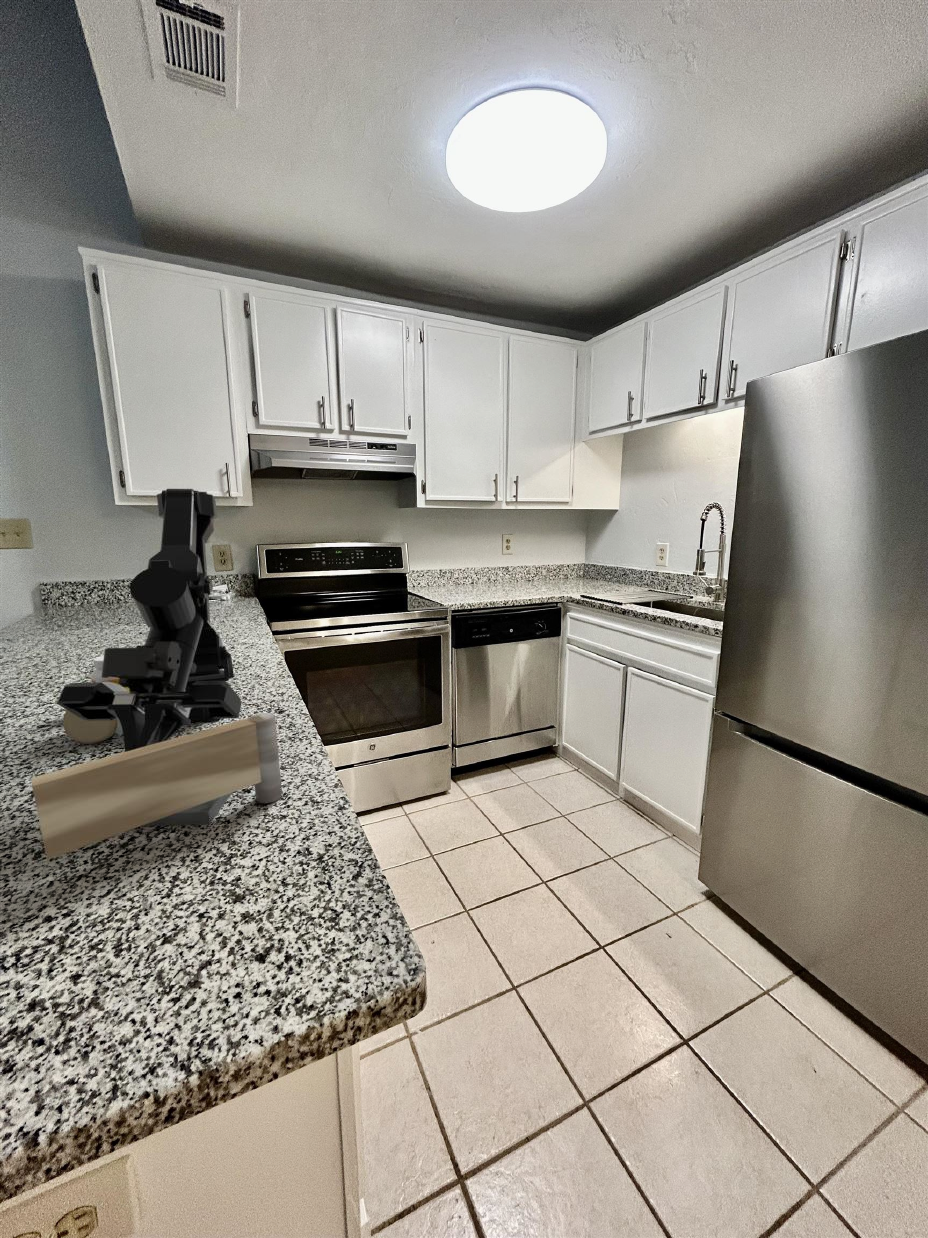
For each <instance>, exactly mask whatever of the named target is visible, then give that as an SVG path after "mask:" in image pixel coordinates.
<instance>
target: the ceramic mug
mask: <svg viewBox="0 0 928 1238" xmlns="http://www.w3.org/2000/svg"><path fill="white" fill-rule="evenodd" d="M102 683H103V684H104V685H106V686H107V687H108V688H110V689H111V690H113V691H114V692H115V691H127V690H126V689H125V688H123V687H122V686H120V685H118V684H115V683H111V682H102ZM62 728H63V730H64V732H65V733H66V735H67V736H68V737H69V738H71V740H74V741H76V742H78V743H83V744H87V745H89V744H98V743H99V744H100V743H101V742H105V741H106V740H108V739H109V738H111V737H112V736H114V734H115V733H116V732H117V733H120V734H123V731H122V726H121V723H120V721H119V719H118V718H117V717H116V718H115V719H113V720H112V721H88V720H83V719H81V718H80V717H78V716H76V715H75V714H73V713H71V712H70V711H68V710H66V709H65V713H64V716H63V718H62Z"/></svg>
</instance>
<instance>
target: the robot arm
mask: <svg viewBox="0 0 928 1238" xmlns="http://www.w3.org/2000/svg"><path fill="white" fill-rule="evenodd" d="M156 501H157V511H158V517H159V518H161V519H162V520H163V521H162V531H161V540H160V541H161V542H160V550H159V551H158V552H157V553H156V554H155V555H152V557H150V558H149V559H148V563H147V567H146V568H147V569H144V570H143V571H141V572H139V573H138V574H136V575H135V577H134V578H133V579H132V581H131V582H130V584H129V591H130V595H131V597H132V599H133V601H134V603H135V605H136V606H137V609H138V611H139V613H140V615H141V617H142V619H143V621H144V624H145V625H146V626H147V628H149V630H148V633H147V635H146V640H145V642H144V645H136V646H135V647H107V648H104V654H103V656H104V660H103V668H102V676H101V677H103V678H108V677H116V678H120V679H119V682H118V683H119V684H120V685H121V686H123V687H128V688H129V691H115V692H114V691H113V690H111V689H110V688H108V687H107V686H106V685H104V684H103V683H102V682H94V683H92V682H71V683H69V684H67V685H65V686H64V687H63V688H62V689H61V692H60V693H59V696H58V699H57V702H56V704H55V705H58V706H59V707H62V708H63V709H64V710H65V711H66V710H68V711H70V712H71V713H73V714H75V715H76V716H78V717H80V718H81V719H83V720H88V721H112V720H113V719H115V718H116V717H117V718H118V719H119V721H120V723H121V726H122V731H123V733H122V735H123V743H124V752H127V751H131V750H134V749H138V748H141V747H145V746H149V745H152V744H156V743H160V742H163V741H167V740H170V739H172V736H174V734H176V733H177V732H178V731H179V730H180V729H181V728H183V726H184V727H185V726H190V724H191V722H208V721H209V722H213V721H219V720H221V719H224V720H225V719H237V718H239V716H240V714H241V708H242V699H241V697H240V696H239V694H237V692H235V690H234V689H233V687H232V686H231V685H230V684H229V683H228V682H229V681H230V679H232V678H233V679H234V677H235V673H234V665H233V659H232V655H231V653H230V652H229V651H228V649H227V646H226V645H223V642H222V638H221V636H220V635H219V633H218V632H217V631H216V630H215V628H214V626H213V625H212V624H211V611H210V609H211V608H210V596H211V595H212V594H211V592H212V591H213V589H214V585H213V583H214V582H213V580H212V579H210V576H209V575H208V568H207V566H208V565H207V553H206V550H207V549H206V544H207V541H208V540H209V539H210V537H211V536H212V535H213V533H214V530H215V526H214V525H215V524H214V519H217V518H218V512H217V511H218V510H217V509H218V508H217V504H216V503H217V501H216V498H215V496H214V495H213V494H209V493H208V491H199V490H194V489H193V488H167V489H163V490H161V493H158V494H156Z"/></svg>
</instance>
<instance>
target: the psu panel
mask: <svg viewBox="0 0 928 1238" xmlns="http://www.w3.org/2000/svg"><path fill="white" fill-rule="evenodd" d="M232 794H233V792H232V793H230V794H227V795H224V796H221V797H219V798H216V799H213V800H210V801H208V802H205V803H202V804H199V805H197V806H194V807H191V808H188V809H186V810H183V811H180V812H177V813H175V814H172V815H169V816H166V817H164V818H161V819H158V820H156V821H153V822H150V823H147V824H145V825H142V826H141V827H161V826H165V827H166V826H186V825H187V826H188V825H192V826H193V825H210V824H211V823H212V822H213V820H214V819H215V817H216V816H217V815H218V813H219V812H220V810H221V809H222V808H223V806H224V805H225V804H226V802H227V801H228V799H229V798H230V796H231V795H232Z"/></svg>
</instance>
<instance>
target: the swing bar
mask: <svg viewBox="0 0 928 1238" xmlns="http://www.w3.org/2000/svg"><path fill="white" fill-rule="evenodd" d="M278 743H279V742H278V734H277V722H276V714H274V713H272V712H261V713H255V714H252V715H251V716H249V717H248V718H243V719H239V720H236V721H233V722H229V723H225V724H222V725H221V724H220V725H218V726H215V727H212V728H207V729H203V730H201V731H197V732H192V733H189V734H186V735H182V736H178V737H174V738H170V739H168V740H167V741H163V742H160V743H156V744H152V745H149V746H145V747H141V748H138V749H134V750H131V751H127V752H125V751H123V752H120V753H117V754H113V755H110V756H106V757H102V758H98V759H95V760H92V761H91V760H90V761H87V762H84V763H80V764H77V765H72V766H70V767H69V766H68V767H66V768H63V769H59V770H55V771H52V772H48V773H43V774H40V775H38V776H34V777H30V782H31V787H32V791H33V796H34V801H35V807H36V811H37V815H38V817H37V818H38V820H39V827H40V831H41V837H42V840H43V841H42V842H43V845H44V846H43V847H44V852H45V855H46V860H47V861H49V860H50V859H53V858H57V857H59V856H62V855H65V854H68V853H70V852H73V851H76V850H78V849H81V848H83V847H86V846H89V845H92V844H95V843H97V842H100V841H103V840H107V839H110V838H111V837H114V836H117V835H119V834H122V833H125V832H128V831H130V830H133V829H135V828H138V827H143V826H142V825H145V824H147V823H150V822H153V821H156V820H158V819H161V818H164V817H166V816H169V815H172V814H175V813H177V812H180V811H183V810H186V809H188V808H191V807H194V806H197V805H199V804H202V803H205V802H208V801H210V800H213V799H216V798H219V797H221V796H224V795H227V794H230V793H232V794H233V793H234V792H238V791H240V790H243V789H246V788H248V787H251V786H253V785H254V791H255V793H254V794H255V801H256V802H258V803H259V804H268V803H270V804H271V803H274V802H277V800H279V799H281V798H282V796H283V789H282V779H281V767H280V755H279V744H278Z"/></svg>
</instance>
